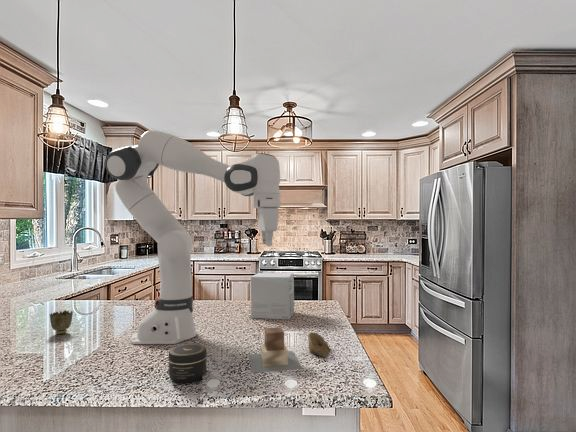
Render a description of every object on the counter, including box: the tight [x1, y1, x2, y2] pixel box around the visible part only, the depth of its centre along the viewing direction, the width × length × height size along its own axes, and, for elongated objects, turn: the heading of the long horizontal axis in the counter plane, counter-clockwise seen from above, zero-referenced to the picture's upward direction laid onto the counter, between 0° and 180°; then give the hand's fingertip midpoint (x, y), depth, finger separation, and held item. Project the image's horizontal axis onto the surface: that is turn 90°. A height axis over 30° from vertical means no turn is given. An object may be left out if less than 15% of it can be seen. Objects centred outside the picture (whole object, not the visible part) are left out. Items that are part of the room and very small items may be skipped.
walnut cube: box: [264, 326, 285, 351], centre depth 109 cm, size 5×5×5 cm
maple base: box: [260, 343, 288, 367], centre depth 108 cm, size 7×7×4 cm
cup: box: [49, 309, 73, 336], centre depth 140 cm, size 8×7×8 cm
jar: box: [167, 343, 208, 385], centre depth 100 cm, size 10×10×8 cm
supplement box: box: [250, 272, 295, 320], centre depth 165 cm, size 17×13×18 cm
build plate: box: [247, 350, 303, 374], centre depth 108 cm, size 14×14×1 cm
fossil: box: [307, 331, 331, 359], centre depth 116 cm, size 9×4×10 cm
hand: (267, 244), depth 123 cm, fingers open, 8 cm apart
